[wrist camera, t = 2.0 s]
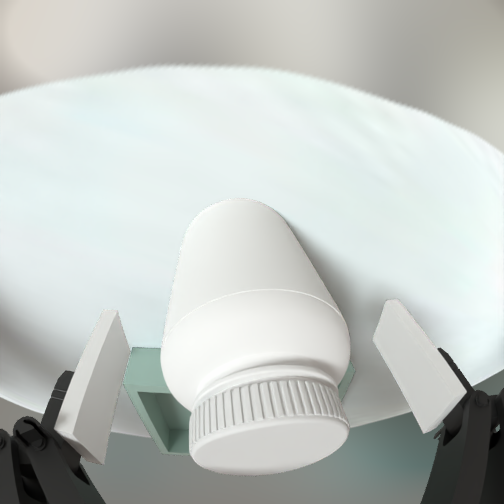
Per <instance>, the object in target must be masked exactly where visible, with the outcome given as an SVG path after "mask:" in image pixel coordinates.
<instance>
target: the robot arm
mask: <svg viewBox="0 0 504 504" xmlns="http://www.w3.org/2000/svg"><path fill="white" fill-rule="evenodd" d="M372 340H373V342H374V344H375V345H376V347H377V349H378V350H379V352H380V354H381V356H382V357H383V359H384V361H385V363H386V364H387V366H388V368H389V370H390V371H391V373H392V375H393V377H394V379H395V380H396V382H397V384H398V386H399V388H400V389H401V391H402V393H403V395H404V397H405V399H406V401H407V402H408V404H409V406H410V408H411V410H412V412H413V414H414V416H415V418H416V420H417V422H418V424H419V426H420V428H421V429H422V432H423V433H426V432H428V431H431V430H433V429H435V428H436V427H437V426H438V425H439V424H440V423H441V422H442V421H443V423H444V426H443V427H442V428H441V429H440V430H439V431H438V432H437V433H436V434H435V436H434V439H435V438H437V437H438V436H439V434H441V435H440V437H439V438H438V440H439V444H438V448H437V452H436V456H435V460H434V464H433V467H432V471H431V474H430V477H429V481H428V484H427V487H426V490H425V493H424V495H423V498H422V501H421V504H504V388H503V389H502V390H501V392H500V393H499V394H498V395H491V396H488V395H487V394H486V393H485V392H483V391H480V390H476V391H475V390H474V389H473V388H472V387H471V385H470V384H469V382H468V381H467V379H466V378H465V376H464V375H463V374H462V372H461V371H460V369H458V367H457V365H456V364H455V363H454V362H453V360H452V358H451V357H450V356H449V354H448V353H446V352H445V351H444V350H443V349H441V348H436V347H435V346H434V344H433V343H432V342H431V340H430V339H429V338H428V336H427V335H426V334H425V332H424V331H423V330H422V328H421V327H420V326H419V325H418V323H417V322H416V321H415V320H414V318H413V317H412V316H411V315H410V313H409V312H408V311H407V310H406V308H405V307H404V306H403V305H402V303H401V302H400V301H399V300H398V299H392V300H386V302H385V305H384V308H383V311H382V314H381V317H380V320H379V322H378V325H377V328H376V331H375V333H374V336H373V339H372ZM130 352H131V351H130V348H129V345H128V342H127V339H126V336H125V333H124V330H123V327H122V324H121V320H120V317H119V314H118V310H103V311H102V313H101V315H100V317H99V319H98V321H97V323H96V325H95V328H94V330H93V332H92V334H91V336H90V338H89V340H88V343H87V345H86V347H85V349H84V351H83V354H82V356H81V358H80V361H79V363H78V365H77V368H76V370H75V372H71V371H65V372H64V373H63V374H62V375H61V376H60V377H59V378H58V380H57V383H56V385H55V388H54V390H53V392H52V395H51V398H50V400H49V402H48V405H47V408H46V410H45V413H44V416H43V418H42V421H41V424H40V423H39V422H38V421H37V420H36V419H34V418H33V417H29V416H26V417H22V418H21V419H19V420H18V421H17V422H16V423H15V425H14V428H13V436H10V435H9V434H8V433H7V432H6V431H4V430H3V429H0V504H106V503H105V502H104V500H103V499H102V497H101V496H100V494H99V493H98V491H97V489H96V488H95V486H94V485H93V483H92V481H91V480H90V478H89V477H88V475H87V473H86V471H85V469H84V468H83V466H82V464H81V463H80V458H81V456H82V457H83V458H84V459H85V460H86V461H88V462H92V463H96V464H101V465H104V461H105V455H106V450H107V445H108V440H109V435H110V430H111V426H112V421H113V417H114V412H115V408H116V404H117V400H118V396H119V392H120V388H121V384H122V380H123V377H124V373H125V370H126V366H127V362H128V359H129V355H130ZM499 424H500V430H499V431H498V432H496V429H495V428H496V427H497V426H498V425H499Z"/></svg>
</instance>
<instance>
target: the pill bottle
mask: <svg viewBox="0 0 504 504" xmlns="http://www.w3.org/2000/svg"><path fill="white" fill-rule="evenodd" d="M350 353H351V344H350V335H349V330H348V327H347V324H346V322H345V320H344V318H343V316H342V314H341V312H340V310H339V308H338V307H337V305H336V303H335V302H334V300H333V298H332V297H331V295H330V293H329V291H328V290H327V288H326V286H325V285H324V283H323V281H322V280H321V278H320V276H319V275H318V273H317V271H316V270H315V268H314V266H313V265H312V263H311V261H310V260H309V258H308V257H307V255H306V253H305V252H304V250H303V249H302V247H301V245H300V244H299V242H298V240H297V239H296V237H295V236H294V234H293V233H292V231H291V229H290V228H289V226H288V225H287V223H286V222H285V220H284V219H283V218H282V217H281V216H280V215H279V214H278V213H277V212H276V211H274V210H273V209H272V208H270V207H269V206H267V205H265V204H263V203H261V202H258V201H255V200H251V199H245V198H233V199H227V200H222V201H219V202H217V203H214V204H212V205H210V206H208V207H207V208H205V209H204V210H203V211H201V212H200V213H199V214H198V215H197V216H196V217H195V218H194V219H193V221H192V222H191V223H190V225H189V227H188V229H187V230H186V232H185V235H184V237H183V240H182V244H181V249H180V253H179V257H178V262H177V266H176V271H175V276H174V280H173V285H172V290H171V295H170V300H169V305H168V310H167V316H166V321H165V327H164V332H163V338H162V345H161V355H160V361H161V368H162V372H163V376H164V379H165V382H166V384H167V386H168V388H169V390H170V392H171V393H172V395H173V396H174V397H175V398H176V400H177V401H178V402H179V403H180V404H181V405H183V406H184V407H185V408H186V409H188V410H189V411H191V412H192V414H191V416H190V421H189V453H190V455H191V457H192V458H193V460H194V461H195V462H196V463H197V464H198V465H200V466H201V467H203V468H205V469H207V470H210V471H213V472H217V473H221V474H227V475H235V476H260V475H269V474H277V473H282V472H287V471H291V470H295V469H298V468H301V467H304V466H307V465H310V464H312V463H315V462H317V461H319V460H321V459H323V458H325V457H327V456H329V455H330V454H332V453H333V452H335V451H336V450H337V449H338V448H340V447H341V446H342V445H343V444H344V442H345V441H346V439H347V437H348V434H349V431H350V426H349V423H348V420H347V417H346V415H345V412H344V409H343V407H342V404H341V401H340V399H339V397H338V395H339V392H338V387H337V386H338V385H339V383H340V382H341V380H342V378H343V377H344V375H345V373H346V370H347V368H348V365H349V360H350Z"/></svg>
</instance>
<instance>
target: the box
mask: <svg viewBox="0 0 504 504" xmlns="http://www.w3.org/2000/svg"><path fill="white" fill-rule="evenodd" d="M160 355H161V348H135V347H132V351H131V355H130V358H129V362H128V366H127V370H126V374H125V378H124V382H123V385H124V387H125V389H126V391H127V393H128V395H129V397H130V399H131V401H132V403H133V405H134V407H135V409H136V411H137V412H138V414H139V416H140V418H141V420H142V421H143V423H144V425H145V427H146V429H147V430H148V432H149V434H150V435H151V437H152V439H153V440H154V442H155V444H156V445H157V447H158V448H159V450H160V452H161V453H162V454H166V455H184V456H191V455H190V453H189V421H190V416H191V414H192V412H191V411H189V410H188V409H186V408H185V407H184V406H183V405H181V404H180V403H179V402H178V401H177V400H176V398H175V397H174V396H173V395H172V393H171V392H170V390H169V388H168V386H167V384H166V382H165V379H164V376H163V372H162V368H161V361H160ZM354 373H355V370H354V367H353V365H352V363H351V361H350V360H349V365H348V368H347V370H346V373H345V375H344V377H343V378H342V380H341V382H340V383H339V385H338V386H337V387H338V392H339V395H338V397H339V399H340V401H342V399H343V397H344V395H345V393H346V391H347V389H348V387H349V384H350V382H351V380H352V378H353V376H354Z"/></svg>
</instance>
